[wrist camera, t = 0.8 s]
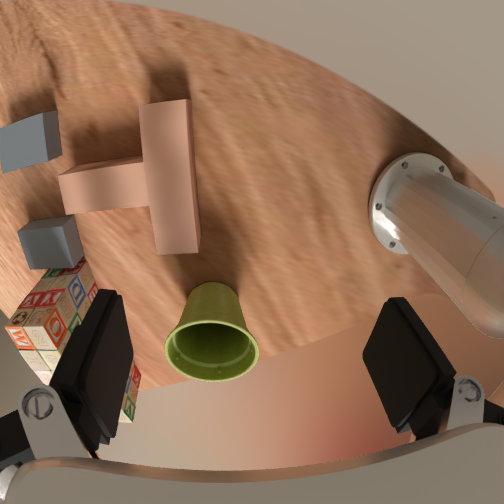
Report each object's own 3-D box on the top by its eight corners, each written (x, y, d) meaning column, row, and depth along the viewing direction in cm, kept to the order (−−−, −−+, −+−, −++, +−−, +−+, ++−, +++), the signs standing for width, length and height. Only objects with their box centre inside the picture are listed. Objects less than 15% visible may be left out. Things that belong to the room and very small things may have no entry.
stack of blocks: (142, 375, 42) (130, 441, 32) (109, 375, 42) (92, 437, 31) (86, 258, 32) (41, 327, 21) (49, 265, 32) (2, 327, 21)
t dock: (57, 110, 23) (42, 112, 21) (84, 254, 31) (74, 267, 29) (11, 125, 23) (-4, 129, 20) (41, 257, 31) (30, 269, 28)
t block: (191, 99, 25) (185, 99, 21) (201, 234, 32) (198, 252, 28) (69, 120, 24) (50, 125, 21) (91, 242, 31) (78, 259, 27)
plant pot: (245, 333, 39) (250, 385, 31) (173, 325, 37) (165, 377, 30) (258, 274, 35) (268, 325, 27) (176, 264, 33) (163, 314, 25)
